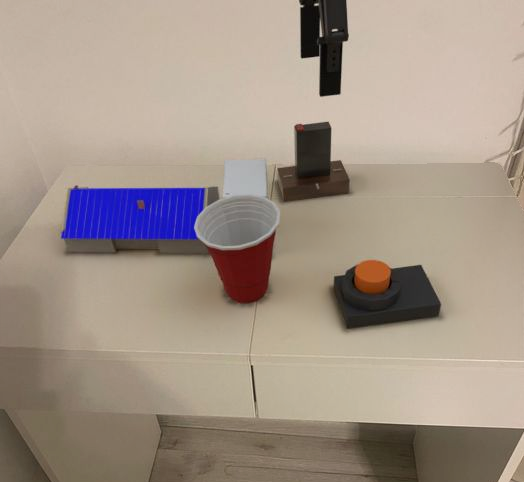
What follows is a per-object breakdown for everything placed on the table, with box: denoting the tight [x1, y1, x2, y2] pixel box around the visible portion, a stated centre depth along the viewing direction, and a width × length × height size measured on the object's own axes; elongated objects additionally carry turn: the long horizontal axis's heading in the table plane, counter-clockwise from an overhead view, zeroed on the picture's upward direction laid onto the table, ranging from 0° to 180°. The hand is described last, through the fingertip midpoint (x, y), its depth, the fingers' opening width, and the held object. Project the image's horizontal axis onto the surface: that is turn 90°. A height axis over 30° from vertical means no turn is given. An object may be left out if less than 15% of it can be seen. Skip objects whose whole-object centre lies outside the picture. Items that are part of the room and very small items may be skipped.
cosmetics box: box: [221, 157, 270, 200], centre depth 81 cm, size 10×6×10 cm, turn 0°
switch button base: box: [333, 264, 442, 329], centre depth 72 cm, size 12×8×4 cm, turn 97°
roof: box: [60, 185, 221, 254], centre depth 86 cm, size 22×14×7 cm, turn 84°
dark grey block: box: [293, 121, 332, 179], centre depth 89 cm, size 6×2×8 cm, turn 97°
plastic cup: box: [194, 194, 281, 304], centre depth 72 cm, size 11×11×12 cm
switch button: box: [354, 259, 391, 294], centre depth 70 cm, size 4×4×2 cm
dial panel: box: [276, 159, 351, 202], centre depth 92 cm, size 11×10×3 cm
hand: (319, 74), depth 77 cm, fingers open, 13 cm apart
